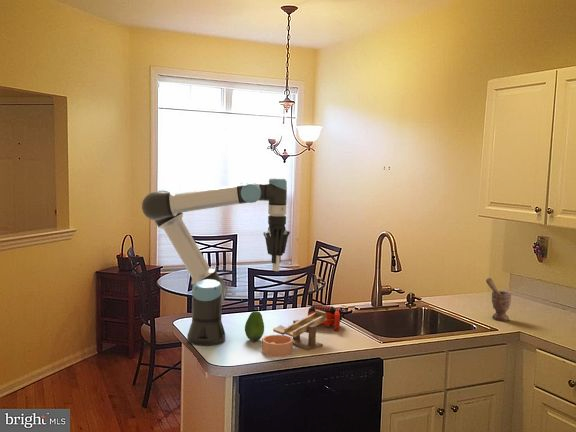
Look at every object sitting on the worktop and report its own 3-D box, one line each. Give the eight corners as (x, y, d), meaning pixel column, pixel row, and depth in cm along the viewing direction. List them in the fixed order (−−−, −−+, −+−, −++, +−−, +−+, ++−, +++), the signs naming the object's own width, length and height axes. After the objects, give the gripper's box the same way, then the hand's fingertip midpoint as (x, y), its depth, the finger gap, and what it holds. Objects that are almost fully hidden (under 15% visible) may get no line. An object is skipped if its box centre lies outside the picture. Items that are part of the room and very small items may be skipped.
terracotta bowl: (275, 358, 195) (275, 346, 195) (255, 350, 204) (256, 338, 203) (298, 352, 203) (299, 340, 202) (278, 344, 211) (279, 333, 211)
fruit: (268, 340, 216) (268, 311, 215) (254, 344, 210) (254, 314, 209) (254, 336, 221) (255, 307, 220) (240, 340, 215) (240, 311, 214)
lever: (294, 341, 204) (292, 330, 203) (273, 333, 213) (272, 323, 212) (328, 322, 216) (326, 312, 215) (307, 316, 225) (306, 306, 224)
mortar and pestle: (494, 322, 250) (496, 280, 249) (481, 317, 258) (483, 277, 257) (513, 320, 254) (516, 279, 253) (500, 316, 262) (502, 276, 261)
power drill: (311, 301, 245) (343, 303, 242) (311, 319, 247) (343, 322, 243) (304, 311, 231) (339, 314, 228) (304, 331, 232) (338, 334, 229)
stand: (307, 350, 205) (308, 328, 204) (285, 341, 214) (286, 321, 214) (322, 346, 210) (323, 325, 209) (300, 338, 220) (300, 318, 219)
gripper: (270, 216, 216) (269, 273, 218) (294, 215, 225) (293, 270, 227) (259, 215, 222) (258, 270, 224) (283, 214, 231) (281, 267, 232)
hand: (275, 270), depth 225 cm, fingers closed
